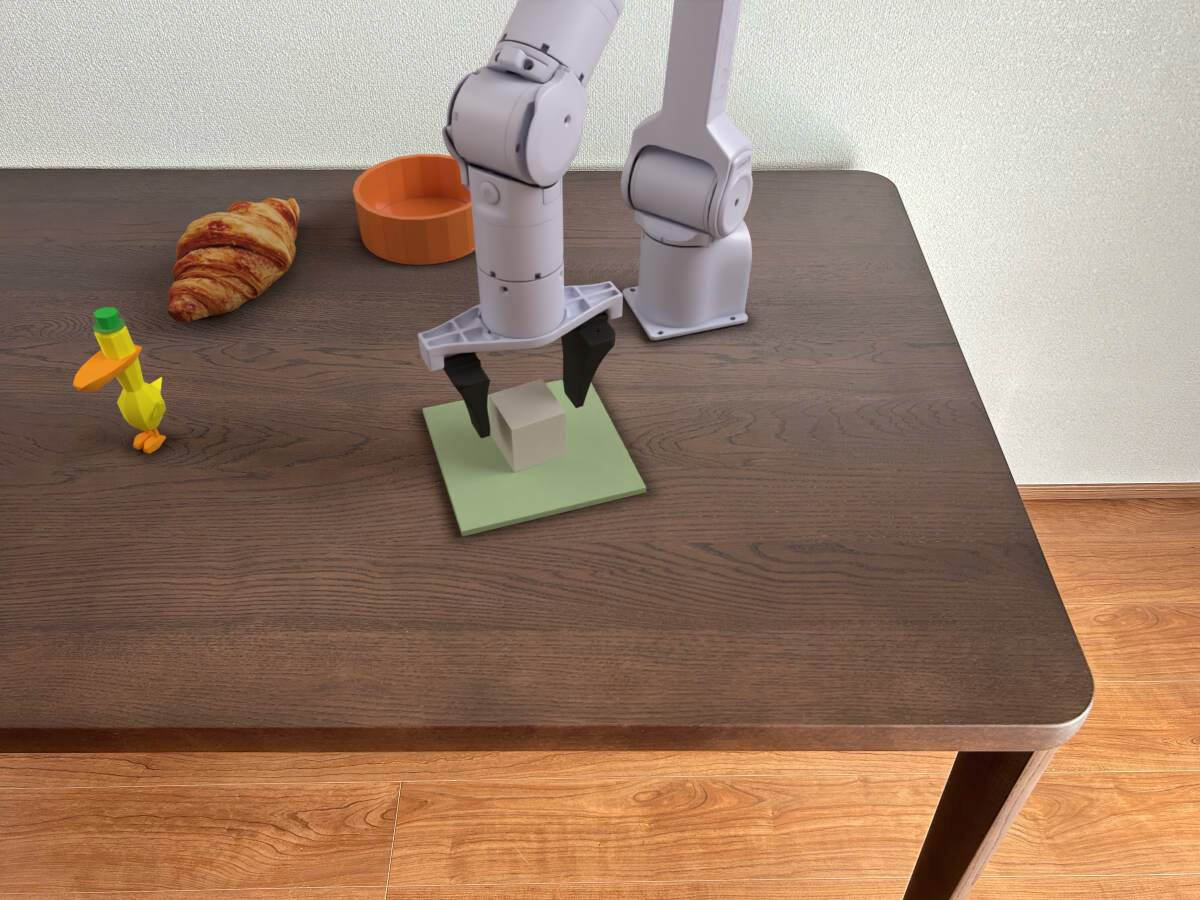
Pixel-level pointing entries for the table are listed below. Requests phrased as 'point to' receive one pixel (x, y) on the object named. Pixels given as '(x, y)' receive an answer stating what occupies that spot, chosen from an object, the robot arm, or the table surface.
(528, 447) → the block
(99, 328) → the toy figure
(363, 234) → the bowl
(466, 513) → the mat
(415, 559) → the table surface
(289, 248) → the croissant
